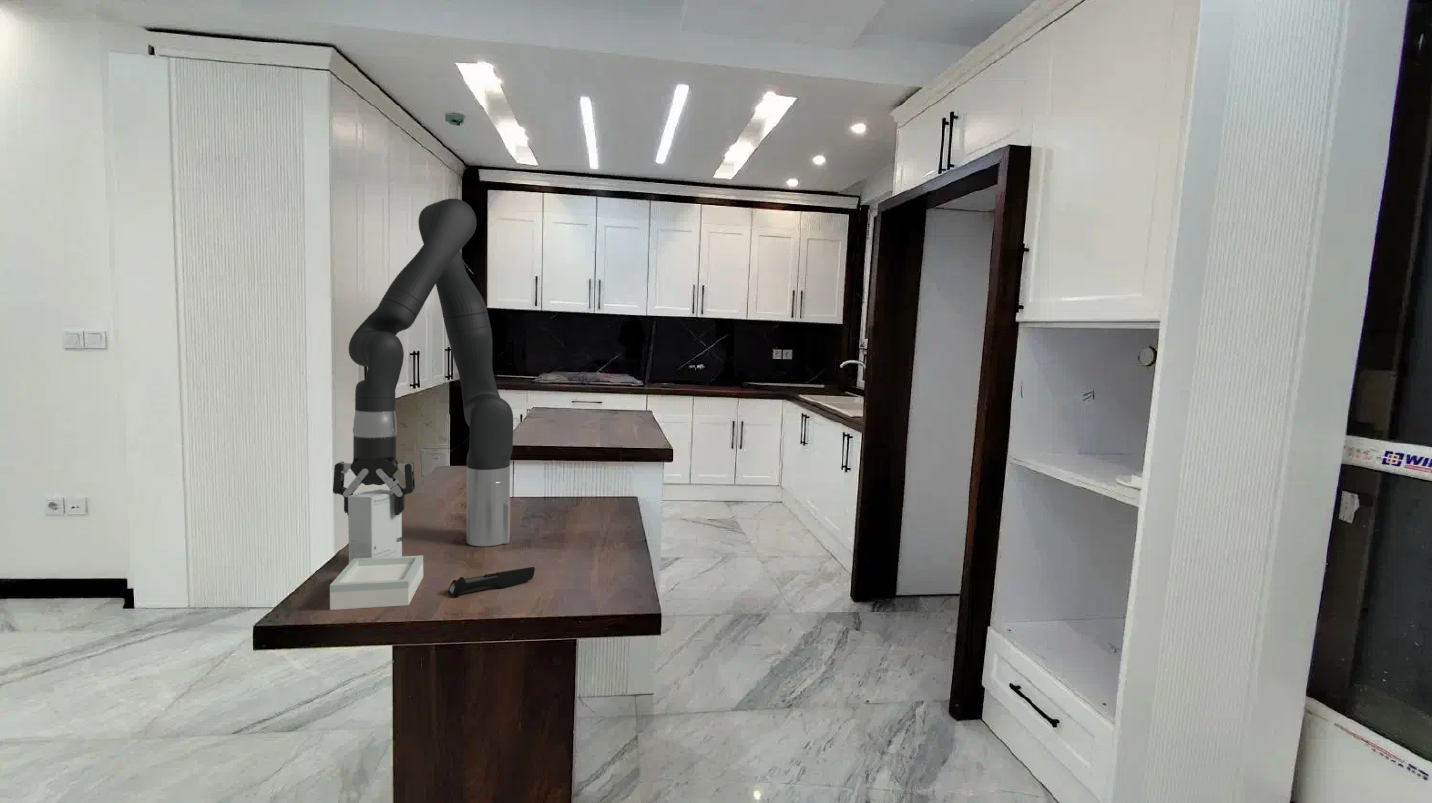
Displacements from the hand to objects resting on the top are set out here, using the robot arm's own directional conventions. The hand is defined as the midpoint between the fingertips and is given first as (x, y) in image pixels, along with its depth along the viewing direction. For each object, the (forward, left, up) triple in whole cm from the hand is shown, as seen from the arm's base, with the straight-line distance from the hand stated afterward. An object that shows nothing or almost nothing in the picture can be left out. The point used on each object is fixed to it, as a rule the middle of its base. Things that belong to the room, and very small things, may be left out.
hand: (374, 514), depth 130 cm
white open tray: (-4, +15, -10) cm, 19 cm away
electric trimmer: (-23, +16, -11) cm, 30 cm away
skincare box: (0, 0, -11) cm, 11 cm away
